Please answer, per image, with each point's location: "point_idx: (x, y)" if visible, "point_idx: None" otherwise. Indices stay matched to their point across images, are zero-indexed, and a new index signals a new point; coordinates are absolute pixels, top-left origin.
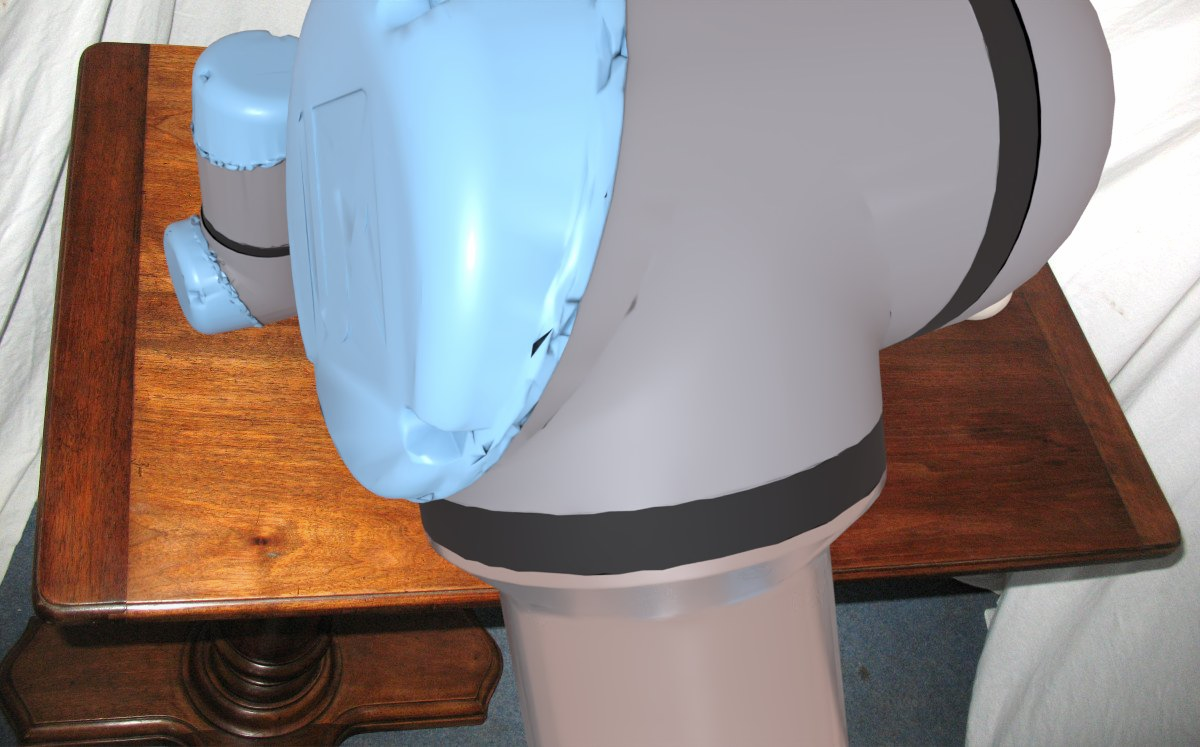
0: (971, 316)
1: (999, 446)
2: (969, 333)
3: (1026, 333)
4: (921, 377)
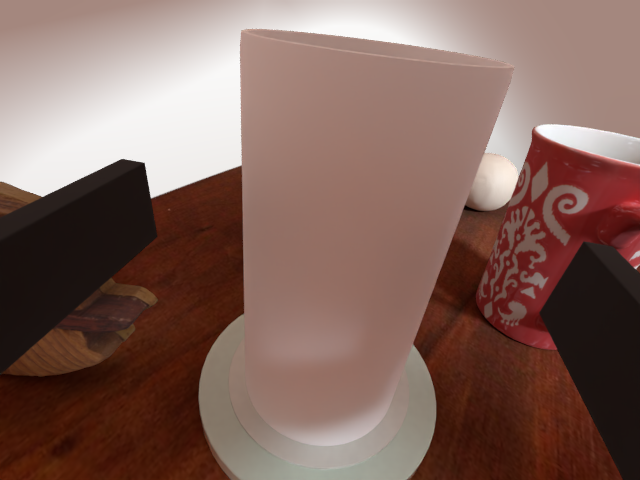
0: (506, 202)
1: (636, 268)
2: (503, 216)
3: None
4: None
